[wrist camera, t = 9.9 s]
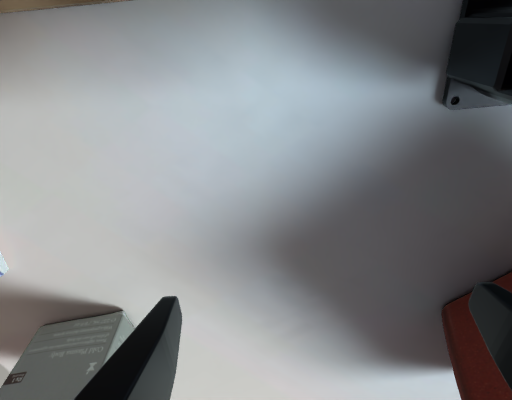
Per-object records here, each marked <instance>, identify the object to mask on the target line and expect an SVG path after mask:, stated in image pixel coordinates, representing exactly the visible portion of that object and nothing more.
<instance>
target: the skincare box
mask: <svg viewBox="0 0 512 400" xmlns="http://www.w3.org/2000/svg"><path fill="white" fill-rule="evenodd" d="M133 331H134V327H133V325H132V324H131V322H130V321H129V319H128V318H127V316H126V314H125V312H124V311H120V312H115V313H112V314H107V315H102V316H97V317H91V318H85V319H78V320H72V321H66V322H61V323H56V324H51V325H46V326H42V327H40V328H39V329H38V331H37V333H36V334H35V336H34V337H33V339H32V340H31V342H30V343H29V345H28V346H27V348H26V350H25V351H24V353H23V354H22V356H21V357H20V359H19V360H18V362H17V363H16V365H15V366H14V368H13V370H12V371H11V373H10V374H9V376H8V377H7V379H6V380H5V382H4V384H3V385H2V387H1V388H0V400H74V398H75V397H76V396H77V395H78V393H79V392H80V391H81V390H82V389H83V388H84V387H85V385H86V384H87V383H88V382H89V381H90V380H91V379H92V377H93V376H94V375H95V374H96V373H97V372H98V371H99V369H100V368H101V367H102V366H103V365H104V364H105V363H106V361H107V360H108V359H109V358H110V357H111V356H112V355H113V353H114V352H115V351H116V350H117V349H118V348H119V347H120V345H121V344H122V343H123V342H124V341H125V340H126V339H127V337H128V336H129V335H130V334H131V333H132V332H133Z"/></svg>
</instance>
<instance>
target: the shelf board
mask: <svg viewBox="0 0 512 400" xmlns="http://www.w3.org/2000/svg"><path fill="white" fill-rule="evenodd" d="M121 1H131V0H0V13H9V12H19V11H29V10H40V9H50V8H60V7H70V6H80V5H91V4H101V3H111V2H121Z"/></svg>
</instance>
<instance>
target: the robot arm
mask: <svg viewBox="0 0 512 400" xmlns="http://www.w3.org/2000/svg"><path fill="white" fill-rule="evenodd" d="M446 74H447V75H448V77H447V81H446V86H445V91H444V96H443V105H444V106H445V107H446V108H448V109H452V110H455V109H466V108H478V107H489V106H500V105H512V0H463V5H462V9H461V14H460V19H459V21H458V22H457V24H456V27H455V32H454V36H453V41H452V46H451V51H450V56H449V61H448V66H447V71H446ZM455 96H456V100H455V101H454V102H453V103H451V99H452V98H453V97H455ZM468 305H469V309H470V312H471V314H472V316H473V318H474V320H475V322H476V325H477V327H478V329H479V331H480V333H481V335H482V337H483V340H484V342H485V344H486V346H487V348H488V350H489V352H490V354H491V356H492V358H493V360H494V362H495V364H496V365H497V367H498V369H499V371H500V372H501V374H502V376H503V377H504V379H505V381H506V382H507V384H508V386H509V387H510V389H511V391H512V293H511V292H509V291H508V290H506V289H504V288H502V287H500V286H499V285H497V284H495V283H492V282H482V283H477V284H476V285H475V287H474V290H473V292H472V294H471V297H470V299H469V303H468ZM181 325H182V313H181V309H180V305H179V301H178V298H177V297H176V296H166V297H163V298H162V299H161V300H160V301H159V302H158V303H157V304H156V305H155V307H154V308H153V309H152V310H151V311H150V312H149V313H148V315H147V316H146V317H145V318H144V319H143V320H142V321H141V323H140V324H139V325H138V326H137V327H136V328H135V329H134V331H133V332H132V333H131V334H130V335H129V336H128V337H127V339H126V340H125V341H124V342H123V343H122V344H121V345H120V347H119V348H118V349H117V350H116V351H115V352H114V353H113V355H112V356H111V357H110V358H109V359H108V360H107V361H106V363H105V364H104V365H103V366H102V367H101V368H100V369H99V371H98V372H97V373H96V374H95V375H94V376H93V377H92V379H91V380H90V381H89V382H88V383H87V384H86V385H85V387H84V388H83V389H82V390H81V391H80V392H79V393H78V395H77V396H76V397H75V398H74V400H170V396H171V392H172V388H173V383H174V379H175V374H176V367H177V359H178V351H179V342H180V334H181Z"/></svg>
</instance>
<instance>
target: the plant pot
mask: <svg viewBox="0 0 512 400" xmlns="http://www.w3.org/2000/svg"><path fill="white" fill-rule="evenodd" d="M492 283H495V284H497V285H499V286H500V287H502V288H504V289H506V290H508V291H509V292H511V293H512V272H511V273H509V274H507V275H505V276H503V277H501V278H499V279H497V280H495V281H493V282H492ZM471 294H472V292H471V293H469V294H467V295H465V296H463V297H461V298H459V299H457V300H455V301H453V302H451V303H449V304H448V305H446V306H445V307H444V308H443V309H442V313H441V316H442V322H443V328H444V333H445V338H446V342H447V347H448V352H449V356H450V360H451V364H452V367H453V371H454V375H455V379H456V383H457V386H458V389H459V393H460V396H461V400H512V391H511V389H510V387H509V386H508V384H507V382H506V381H505V379H504V377H503V376H502V374H501V372H500V371H499V369H498V367H497V365H496V364H495V362H494V360H493V358H492V356H491V354H490V352H489V350H488V348H487V346H486V344H485V342H484V340H483V337H482V335H481V333H480V331H479V329H478V327H477V325H476V322H475V320H474V318H473V316H472V314H471V312H470V309H469V305H468V303H469V299H470V297H471Z"/></svg>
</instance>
